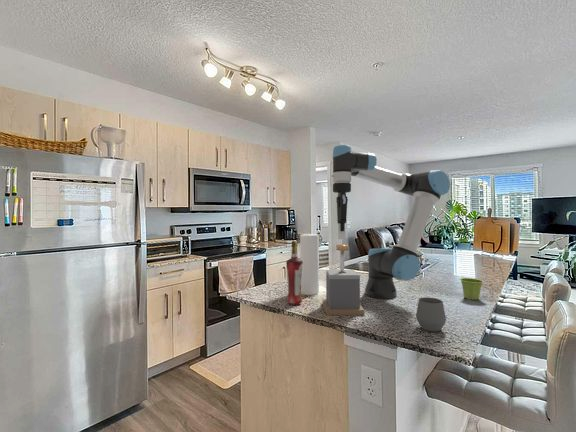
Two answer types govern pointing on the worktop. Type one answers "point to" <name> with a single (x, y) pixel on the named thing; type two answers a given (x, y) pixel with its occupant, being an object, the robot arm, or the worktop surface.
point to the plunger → (342, 255)
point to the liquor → (294, 277)
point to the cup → (431, 314)
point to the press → (342, 293)
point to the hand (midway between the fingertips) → (341, 238)
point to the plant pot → (471, 288)
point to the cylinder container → (310, 263)
